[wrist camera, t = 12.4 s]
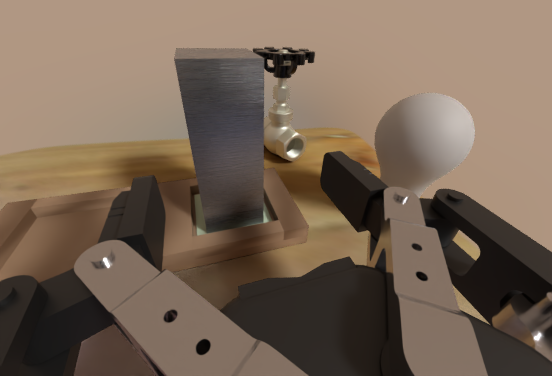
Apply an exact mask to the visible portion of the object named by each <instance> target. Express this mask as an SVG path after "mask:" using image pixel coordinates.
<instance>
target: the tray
mask: <svg viewBox="0 0 552 376" xmlns="http://www.w3.org/2000/svg"><path fill="white" fill-rule="evenodd" d="M157 184H158V187H159V190H160V193H161V197H162V200H163V203H164V207H165V213H166V220H165V234H164V248H163V262H162V271H163V270H164V269H167V270H169V271H170V272H176V271H181V270H185V269H189V268H194V267H198V266H203V265H207V264H212V263H216V262H220V261H225V260H229V259H234V258H238V257H243V256H247V255H251V254H256V253H260V252H265V251H269V250H274V249H278V248H282V247H287V246H291V245H296V244H300V243H305V242H306V241H307V235H308V228H309V225H308V224H307V222H306V220H305V219H304V217H303V215H302V214H301V212H300V210H299V209H298V207H297V205H296V204H295V202H294V200H293V199H292V197H291V195H290V194H289V192H288V190H287V188H286V187H285V185H284V183H283V182H282V180H281V178H280V177H279V175H278V173H277V172H276V170H275V168H268V169H264V220H263V223H259V224H254V225H249V226H244V227H239V228H234V229H228V230H223V231H218V232H213V233H208V234H207V230H206V225H205V219H204V214H203V209H202V203H201V198H200V193H199V187H198V182H197V178H192V179H185V180H177V181H170V182H162V183H157ZM130 189H131V187H124V188H117V189H109V190H102V191H94V192H87V193H79V194H72V195H64V196H56V197H49V198H41V199H34V200H26V201H19V202H11V203H7V204H6V205H5V206H4V208H3V209H2V210H1V211H0V281H1V280H4V279H7V278H10V277H13V276H18V275H29V276H32V277H34V278H35V279H36V280H37V281H38V282H39V283H40V282H42V281H45V280H47V279H49V278H52V277H54V276H57V275H59V274H61V273H64V272H66V271H68V270H71V269H72V268H74V265H75V262H76V261H77V259H78V258H79V257H80V255H81V254H82V253H84V252H85V251H86V250H87V249H89V248H91V247H92V246H94V245H96V244H97V243H98V240H99V238H100V235H101V232H102V229H103V227H104V224H105V221H106V219H107V218H108V217H107V216H108V213H109V211H110V208H111V205H112V202H113V200H114V199H115V198H116V197H117V196H118V195H119V194H120V193H121V192H122V191H129V190H130Z"/></svg>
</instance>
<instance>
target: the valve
mask: <svg viewBox="0 0 552 376" xmlns="http://www.w3.org/2000/svg"><path fill="white" fill-rule="evenodd" d="M253 52H254V53H256V54H257V55H259V56H261V57H263V58H264V68H265V70H266V71H268V72H270V73H274V74H273V76H274V77H276V78H278V85H276V86H274V88H273V91H274V92H273V98H274V99H276V100H277V101H276V103H274V105H273V107H271V108H270V109H269V115H268V117H265V118H264V145H265V147H266V148H267V149H268V150H269V151H270V152H272V153H273V154H276V155H279V156H281V157H282V158H284V159H287V160H289V161H293V162H294V161H295V160H297V159H298V158H299V157H300V156H301V155H302V154H303V153H304V152H305V148H306V137H304V136H303V135H301V134H299V133H297V132H295V130H294V129H293V128H292V127H291V125H290V121H291V120H292V119H293V110H292V109H291V108H289V104H287V103H286V100H288V99H290V87H289V86H287V85H286V83H287V78H290V77H291V75H292V74H294V73H295V71H296V69H297V65H304V64H305V60H308V63H313V62H314V57H315V52H314V51H309V50H308V49H299V50H293V49H292V48H291V47H283V49H274V47H265V48H264V49H262V48H253ZM267 59H270V60H273V65H274V67H270V66H268V64H267Z"/></svg>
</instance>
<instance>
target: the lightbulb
mask: <svg viewBox="0 0 552 376" xmlns="http://www.w3.org/2000/svg"><path fill="white" fill-rule="evenodd" d="M474 136H475V128H474V124H473V119H472V117H471V115H470V113H469V111H468V110H467V109H466V108H465V107H464V106H463V105H462V104H461V103H460V102H458V101H457V100H456V99H454V98H452V97H449V96H446V95H443V94H439V93H421V94H417V95H413V96H410V97H408V98H405V99H403V100H401V101H399V102H398V103H397V104H395V105H393V106H392V107H391V108H390V109H389V110H388V111H387V112H386V113H385V115H384V116H383V117H382V119H381V120H380V122H379V124H378V126H377V129H376V132H375V149H376V154H377V158H378V161H379V164H380V172H381V177H380V180H381V181H382V182H384V183H385V184H386V185H387V186H388V187H401V188H405V189H407V190H410V191H412V192H413V193H415V194H416V195H417V196H418V197H419V198H420V196H421V194H422V193H423V192H424V191H425V189H426V188H427V187H429V185H431V184H432V183H433V182H434V181H436V180H438V179H439V178H441V177H443V176H444V175H446V174H447V173H449V172H450V171H452V170H453V169H455V168H456V167H457V166H459V164H461V163H462V161H463V160H464V159H465V158H466V157H467V155H468V153H469V152H470V150H471V148H472V145H473V142H474Z"/></svg>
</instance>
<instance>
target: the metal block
mask: <svg viewBox="0 0 552 376" xmlns="http://www.w3.org/2000/svg"><path fill="white" fill-rule="evenodd" d="M174 59H175V65H176V70H177V76H178V81H179V86H180V91H181V96H182V102H183V108H184V113H185V118H186V124H187V129H188V134H189V139H190V145H191V150H192V155H193V161H194V166H195V171H196V177H197V182H198V187H199V193H200V198H201V203H202V209H203V214H204V219H205V225H206V230H207V234H208V233H213V232H218V231H223V230H228V229H234V228H239V227H244V226H249V225H254V224H259V223H263V220H264V58H263V57H261V56H259V55H257V54H256V53H254V52H252V51H250V50H248V49H203V48H202V49H201V48H200V49H199V48H191V49H190V48H189V49H188V48H183V49H182V48H176V52H175V58H174Z"/></svg>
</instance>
